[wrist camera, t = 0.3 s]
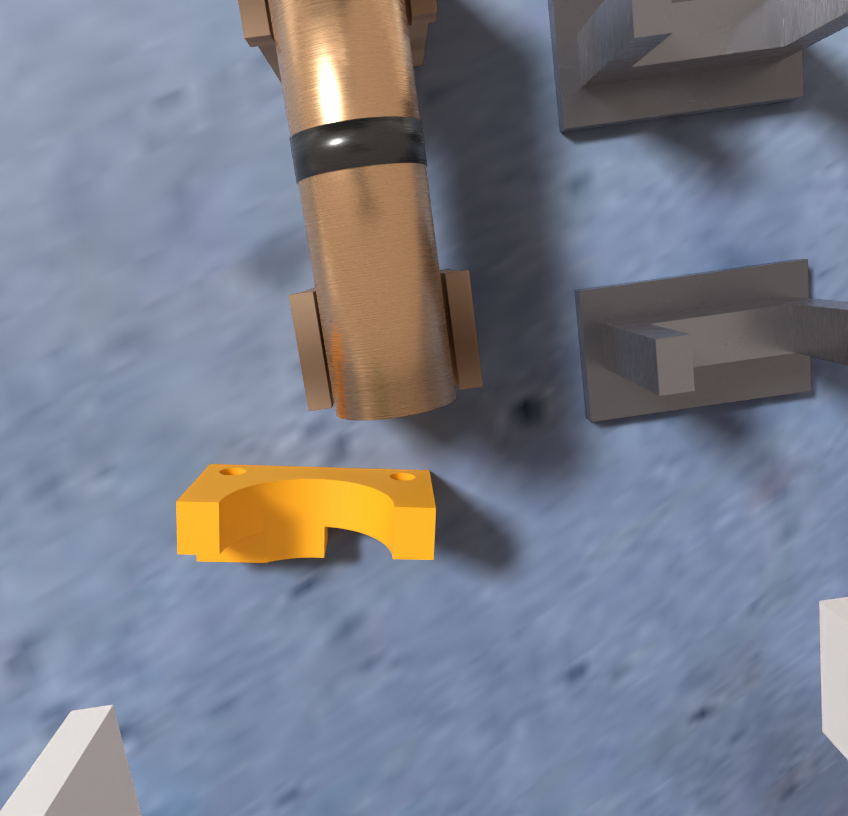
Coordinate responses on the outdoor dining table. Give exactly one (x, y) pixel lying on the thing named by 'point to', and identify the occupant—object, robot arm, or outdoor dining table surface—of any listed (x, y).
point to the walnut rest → (305, 303)
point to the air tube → (365, 203)
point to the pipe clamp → (303, 511)
